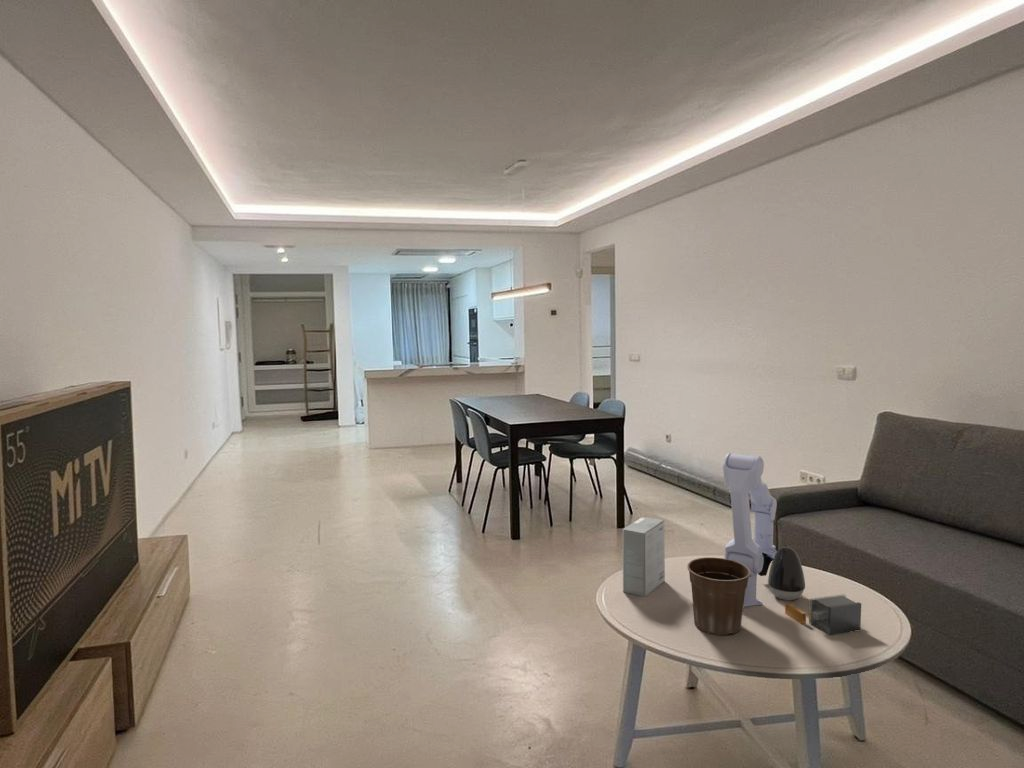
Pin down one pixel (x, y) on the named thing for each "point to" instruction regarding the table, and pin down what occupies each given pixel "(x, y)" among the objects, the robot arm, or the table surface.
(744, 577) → the plant pot
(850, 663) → the table surface
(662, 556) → the hard drive box
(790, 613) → the motor
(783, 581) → the dark grey egg shape
